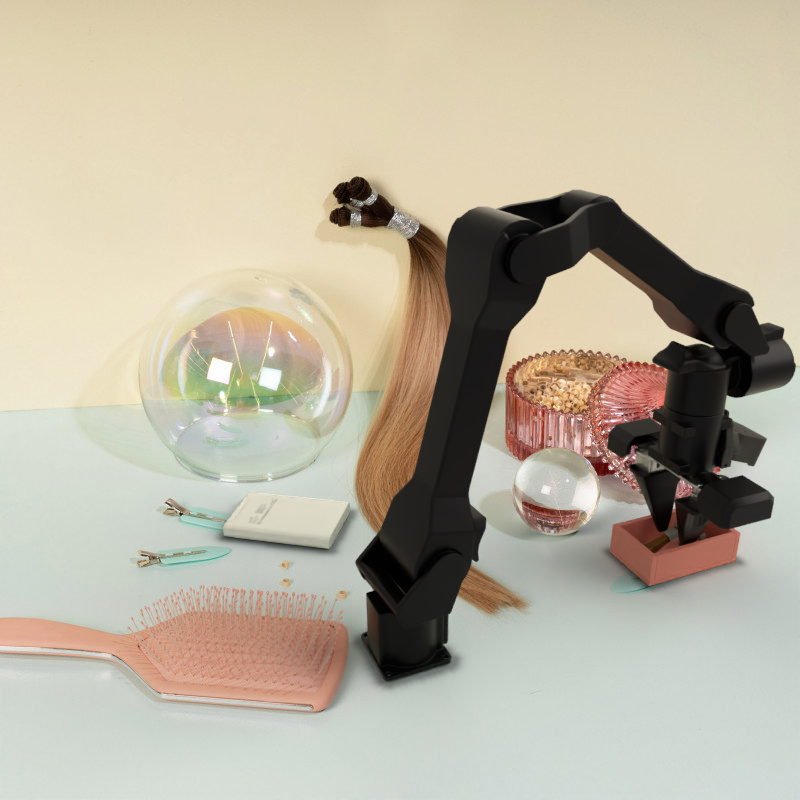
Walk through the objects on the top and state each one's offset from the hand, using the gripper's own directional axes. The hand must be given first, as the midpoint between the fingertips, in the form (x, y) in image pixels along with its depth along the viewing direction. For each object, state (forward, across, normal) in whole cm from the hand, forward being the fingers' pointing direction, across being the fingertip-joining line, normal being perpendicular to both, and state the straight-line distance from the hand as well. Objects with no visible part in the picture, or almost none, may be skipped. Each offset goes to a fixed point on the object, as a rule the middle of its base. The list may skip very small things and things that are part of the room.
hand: (673, 539), depth 89 cm
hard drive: (+3, +22, +36) cm, 42 cm away
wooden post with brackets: (+2, 0, 0) cm, 2 cm away
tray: (+2, 0, 0) cm, 2 cm away
